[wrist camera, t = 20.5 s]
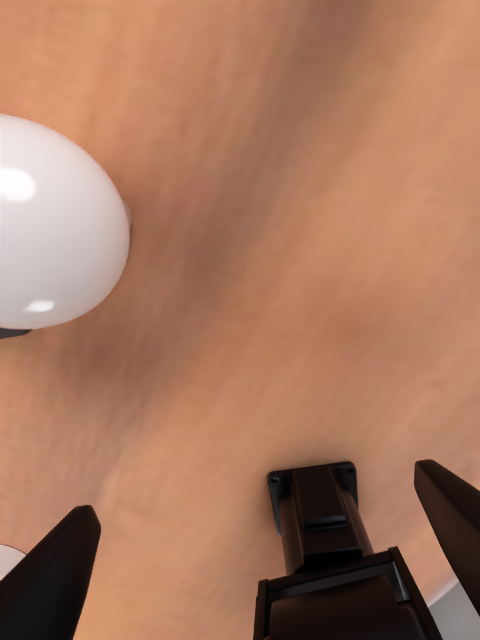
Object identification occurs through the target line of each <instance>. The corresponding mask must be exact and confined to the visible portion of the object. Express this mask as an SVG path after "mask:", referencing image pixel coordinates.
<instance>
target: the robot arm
mask: <svg viewBox="0 0 480 640" xmlns="http://www.w3.org/2000/svg"><path fill="white" fill-rule="evenodd" d="M349 468H350V469H349ZM274 478H276V479H274ZM268 485H269V490H270V495H271V501H272V506H273V511H274V517H275V522H276V528H277V533H278V534H279V535H280V536H282V542H283V550H284V557H285V565H286V573H287V576H284V577H280V578H276V579H272V580H268V579H265V580H261V581H259V582H258V596H257V597H256V608H255V622H254V635H253V640H443V639H442V637H441V634H440V632H439V630H438V628H437V626H436V624H435V621H434V619H433V617H432V615H431V613H430V611H429V609H428V607H427V605H426V603H425V601H424V599H423V597H422V595H421V593H420V591H419V589H418V587H417V585H416V583H415V581H414V579H413V577H412V575H411V573H410V571H409V569H408V567H407V565H406V563H405V561H404V559H403V557H402V555H401V553H400V551H399V549H398V547H397V546H395V547H391V548H388V550H387V551H383V552H379V553H375V554H374V551H373V549H372V546H371V543H370V541H369V538H368V536H367V533H366V530H365V528H364V525H363V522H362V520H361V517H360V515H359V512H358V497H357V478H356V468H355V466H354V464H353V463H352V462H340V463H333V464H326V465H318V466H311V467H304V468H296V469H289V470H281V471H274V472H271V473H269V474H268ZM414 486H415V490H416V493H417V495H418V497H419V500H420V502H421V504H422V506H423V508H424V511H425V513H426V515H427V517H428V519H429V522H430V524H431V526H432V528H433V530H434V533H435V535H436V537H437V539H438V541H439V544H440V546H441V548H442V550H443V552H444V554H445V556H446V558H447V560H448V562H449V564H450V565H451V567H452V569H453V571H454V572H455V574H456V576H457V578H458V579H459V581H460V583H461V585H462V587H463V588H464V590H465V591H466V594H467V595H468V597H469V599H470V601H471V602H472V604H473V606H474V608H475V609H476V611H477V613H478V615H479V616H480V491H479V490H478V489H476V488H475V487H473V486H472V485H470V484H469V483H467V482H466V481H464V480H463V479H461V478H460V477H458V476H457V475H455V474H454V473H452V472H451V471H449V470H448V469H446V468H445V467H443V466H442V465H440V464H439V463H437V462H436V461H434V460H431V459H427V460H420V461H416V463H415V472H414ZM100 534H101V525H100V522H99V520H98V518H97V516H96V513H95V511H94V509H93V507H92V506H90V505H83V506H77V507H75V508H74V509H73V510H71V511H70V512H69V513H68V514H67V515H66V516H65V517H64V518H63V519H62V520H61V521H60V522H59V523H58V524H57V525H56V526H55V527H54V528H53V529H52V530H51V531H50V532H49V533H48V534H47V535H46V536H45V537H44V538H43V539H42V540H41V541H40V542H39V543H38V544H37V545H36V546H35V547H34V548H33V549H32V550H31V551H30V552H29V553H28V554H27V555H26V556H25V557H24V558H23V559H22V560H21V561H20V562H19V563H18V564H17V565H16V566H15V567H14V568H13V569H12V570H11V571H10V572H9V573H8V574H7V575H6V576H5V577H4V578H3V579H2V580H0V640H73V637H74V634H75V631H76V628H77V624H78V621H79V618H80V615H81V612H82V609H83V605H84V602H85V599H86V595H87V591H88V587H89V583H90V578H91V574H92V570H93V565H94V561H95V556H96V552H97V548H98V543H99V539H100Z"/></svg>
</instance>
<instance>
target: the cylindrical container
mask: <svg viewBox="0 0 480 640" xmlns="http://www.w3.org/2000/svg"><path fill="white" fill-rule="evenodd" d="M25 556H26V555H25V554H24V553H22V552H20V551H19V550H16V549H14V548H12V547H8V546H5V545H1V544H0V580H2V579H3V578H4V577H5V576H6V575H7V574H8V573H9V572H10V571H11V570H12V569H13V568H14V567H15V566H16V565H17V564H18V563H19V562H20V561H21V560H22V559H23V558H24V557H25Z"/></svg>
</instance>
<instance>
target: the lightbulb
mask: <svg viewBox="0 0 480 640" xmlns="http://www.w3.org/2000/svg"><path fill="white" fill-rule="evenodd" d="M131 225H132V215H131V211H130V209H129V206H128V205H127V203H126V202H125V201H124V199H123V198H121V196H120V194H119V192H118V190H117V188H116V187H115V185H114V183H113V182H112V180H111V179H110V177H109V176H108V174H107V173H106V172H105V170H104V169H103V168H102V167H101V166H100V165H99V163H98V162H97V161H96V160H95V159H94V158H93V157H92V156H91V155H90V154H89V153H87V152H86V151H85V150H84V149H83V148H82V147H80V146H79V145H78V144H76V143H75V142H73V141H72V140H71V139H69V138H68V137H66V136H64V135H63V134H61V133H59V132H57V131H55V130H53V129H51V128H49V127H47V126H45V125H43V124H40V123H37V122H35V121H32V120H29V119H25V118H22V117H18V116H13V115H8V114H1V113H0V328H6V329H40V328H47V327H52V326H56V325H60V324H63V323H66V322H69V321H72V320H74V319H76V318H79V317H80V316H82V315H84V314H86V313H88V312H89V311H91V310H92V309H94V308H95V307H96V306H98V305H99V304H100V303H101V302H102V301H103V300H104V299H105V298H106V297H107V296H108V295H109V294H110V293H111V291H112V290H113V289H114V287H115V286H116V285H117V283H118V281H119V280H120V278H121V276H122V274H123V271H124V269H125V266H126V263H127V259H128V255H129V248H130V229H131Z"/></svg>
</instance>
